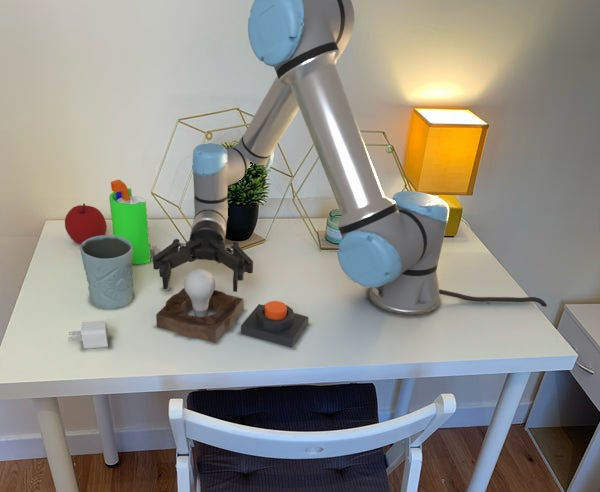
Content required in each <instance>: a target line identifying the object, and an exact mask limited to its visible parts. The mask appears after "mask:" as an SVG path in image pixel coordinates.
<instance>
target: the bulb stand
mask: <svg viewBox="0 0 600 492" xmlns="http://www.w3.org/2000/svg"><path fill="white" fill-rule="evenodd" d="M244 303H245V301H244V298H242V297H239V296H234V295H230V294H227V293H225V292H224V291H220V290H216V289H215V290H214V292H213V294H212V296H211V297H210V299H209V303H208V309H207V311H212V312H214V313H212V314H209V315H207V316H204V317H199V316H195V315H191V314H189V312H191V311H194V309H193V305H192V301H191V299H190V297H189V296H188V294H187V293H186V291H185V289H184V287H183V288H182V289H181V290H180V291H179V292H177V293H174V294H173V295H172V296H171V297H170V298H168V299H167V300H166V302H165V305H164V306H163V307H162V308H161V309H160V310H159V311H158V312H157V313H155V318H156V327H157V328H159V329H163V330H166V331H170V332H174V333H175V334H177V335H179V336H182V337H185V338H189V339H199V340H202V341H207V342H210V343H213V344H217V343H218V342H219V340H221V338H222V337H223V336H224V334H226V333H228V332H230V331H231V329H233V328H234V326H236V322H237V321H236V320H237V319H238V318H239V317H240V316H241V314H242V313H243V312H244Z"/></svg>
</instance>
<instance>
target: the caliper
mask: <svg viewBox="0 0 600 492" xmlns="http://www.w3.org/2000/svg"><path fill="white" fill-rule="evenodd" d="M151 250H152V253H153V257H154V256H155V255H156V254H158V253H159V252H160V251H159V248H158V246H157V245H153V246H151ZM161 281H162V282H163V280H162V279H161ZM163 290H164V292H169V291H170V283H169V284H168V288H167V289H163Z"/></svg>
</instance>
